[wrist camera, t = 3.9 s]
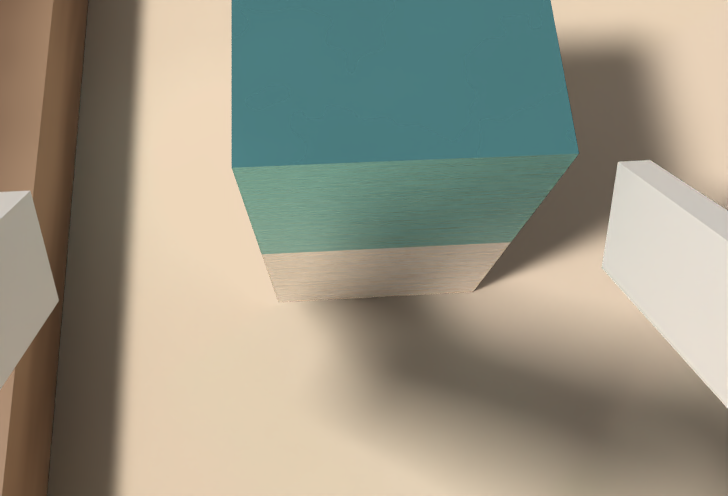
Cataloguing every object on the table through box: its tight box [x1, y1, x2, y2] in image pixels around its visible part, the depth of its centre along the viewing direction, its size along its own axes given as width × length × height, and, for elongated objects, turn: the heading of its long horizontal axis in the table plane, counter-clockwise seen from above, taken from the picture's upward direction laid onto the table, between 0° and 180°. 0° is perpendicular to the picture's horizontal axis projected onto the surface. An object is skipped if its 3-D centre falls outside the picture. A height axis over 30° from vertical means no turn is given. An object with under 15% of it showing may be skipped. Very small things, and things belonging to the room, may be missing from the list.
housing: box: [232, 0, 579, 302], centre depth 19 cm, size 7×7×11 cm
